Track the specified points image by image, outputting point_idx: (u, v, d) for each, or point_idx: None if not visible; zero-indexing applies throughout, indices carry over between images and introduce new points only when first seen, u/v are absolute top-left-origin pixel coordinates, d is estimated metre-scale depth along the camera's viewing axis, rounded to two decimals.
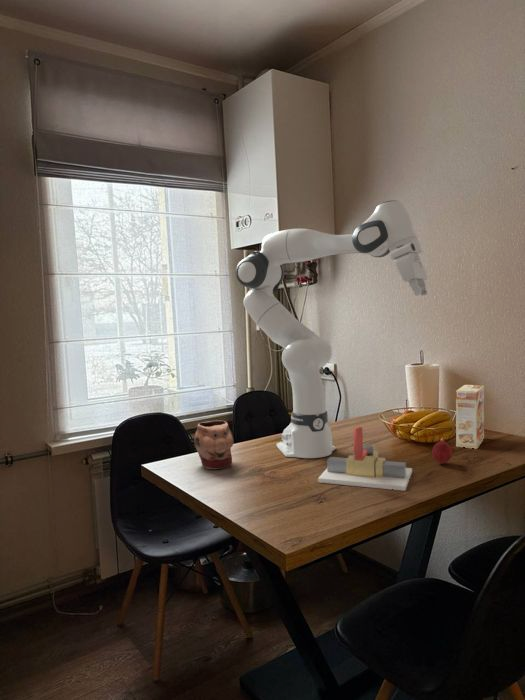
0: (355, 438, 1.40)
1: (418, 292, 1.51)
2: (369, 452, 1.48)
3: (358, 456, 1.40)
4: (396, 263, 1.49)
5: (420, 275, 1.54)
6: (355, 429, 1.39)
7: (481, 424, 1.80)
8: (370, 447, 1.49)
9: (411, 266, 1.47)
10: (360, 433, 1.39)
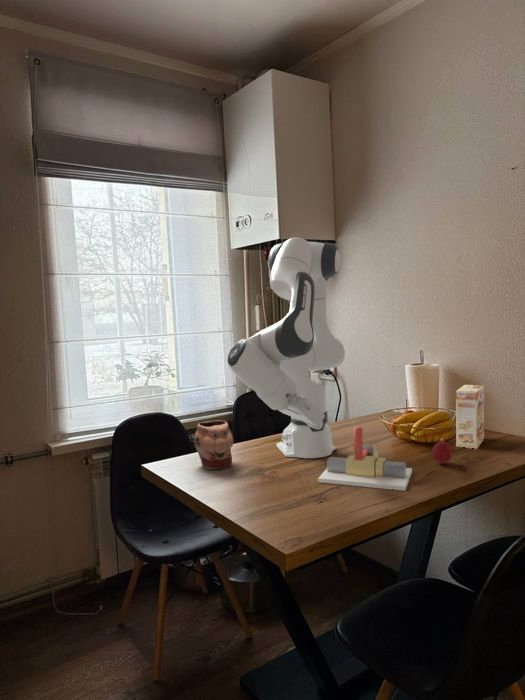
0: (355, 438, 1.40)
1: None
2: (369, 452, 1.48)
3: (358, 456, 1.40)
4: None
5: (294, 417, 1.34)
6: (355, 429, 1.39)
7: (481, 424, 1.80)
8: (370, 447, 1.49)
9: None
10: (360, 433, 1.39)
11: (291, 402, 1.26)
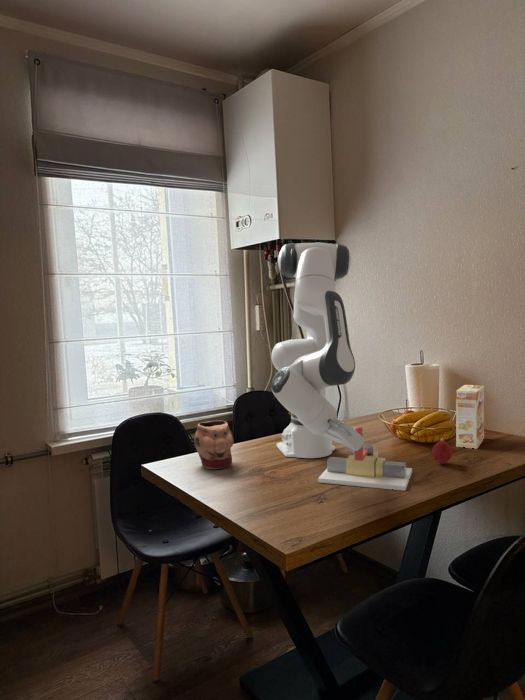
0: None
1: None
2: (369, 452, 1.48)
3: (358, 456, 1.40)
4: None
5: (333, 440, 1.39)
6: (355, 429, 1.39)
7: (481, 424, 1.80)
8: (370, 447, 1.49)
9: None
10: (360, 433, 1.39)
11: (332, 427, 1.31)
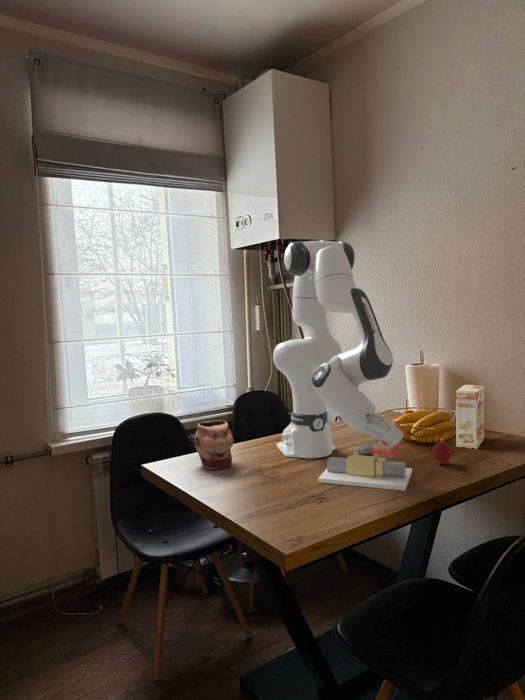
0: None
1: None
2: None
3: (399, 451, 1.43)
4: None
5: (370, 435, 1.42)
6: (398, 425, 1.42)
7: (481, 424, 1.80)
8: (368, 445, 1.51)
9: None
10: None
11: (371, 422, 1.34)
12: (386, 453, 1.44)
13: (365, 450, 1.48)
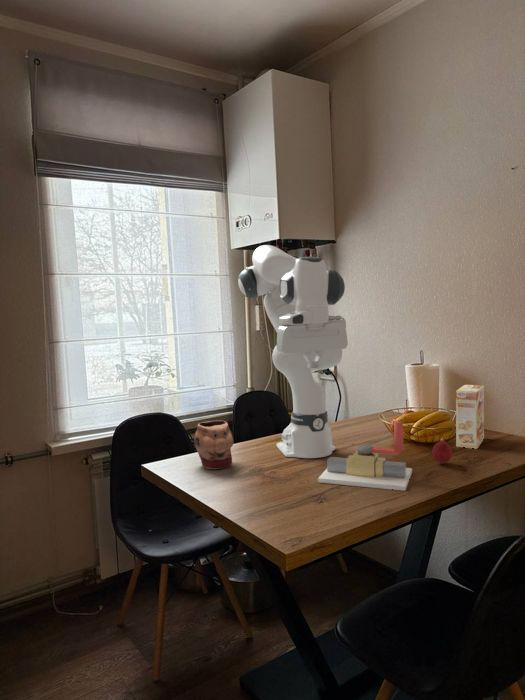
0: (402, 432, 1.44)
1: (309, 366, 1.41)
2: None
3: None
4: (277, 331, 1.39)
5: (311, 348, 1.39)
6: (401, 423, 1.44)
7: (481, 424, 1.80)
8: (367, 445, 1.51)
9: (282, 341, 1.36)
10: None
11: (331, 322, 1.42)
12: (389, 451, 1.45)
13: (367, 450, 1.48)
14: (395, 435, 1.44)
